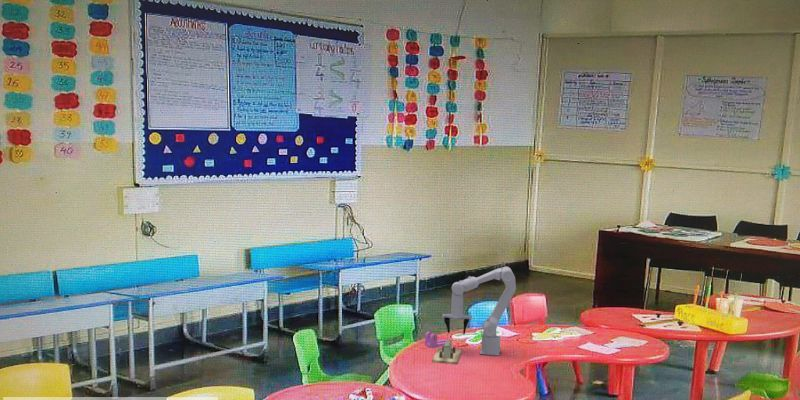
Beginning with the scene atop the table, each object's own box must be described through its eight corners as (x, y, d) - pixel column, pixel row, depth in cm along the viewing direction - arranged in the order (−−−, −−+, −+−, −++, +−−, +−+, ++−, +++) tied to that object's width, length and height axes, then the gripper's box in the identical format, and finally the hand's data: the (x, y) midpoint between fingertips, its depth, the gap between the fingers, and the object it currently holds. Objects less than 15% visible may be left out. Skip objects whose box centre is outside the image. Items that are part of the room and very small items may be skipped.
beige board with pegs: (462, 351, 367) (462, 344, 367) (457, 364, 347) (457, 357, 347) (438, 349, 369) (438, 342, 369) (432, 362, 350) (432, 354, 349)
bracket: (431, 348, 372) (431, 334, 372) (424, 345, 377) (425, 332, 376) (451, 344, 379) (452, 331, 379) (445, 341, 384) (445, 328, 383)
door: (451, 352, 363) (451, 340, 362) (448, 358, 353) (448, 346, 352) (446, 351, 363) (446, 339, 363) (443, 357, 353) (443, 345, 353)
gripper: (441, 307, 362) (440, 334, 364) (470, 309, 360) (470, 336, 361) (443, 304, 369) (442, 330, 371) (472, 306, 366) (471, 332, 368)
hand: (456, 333), depth 366 cm, fingers open, 7 cm apart
